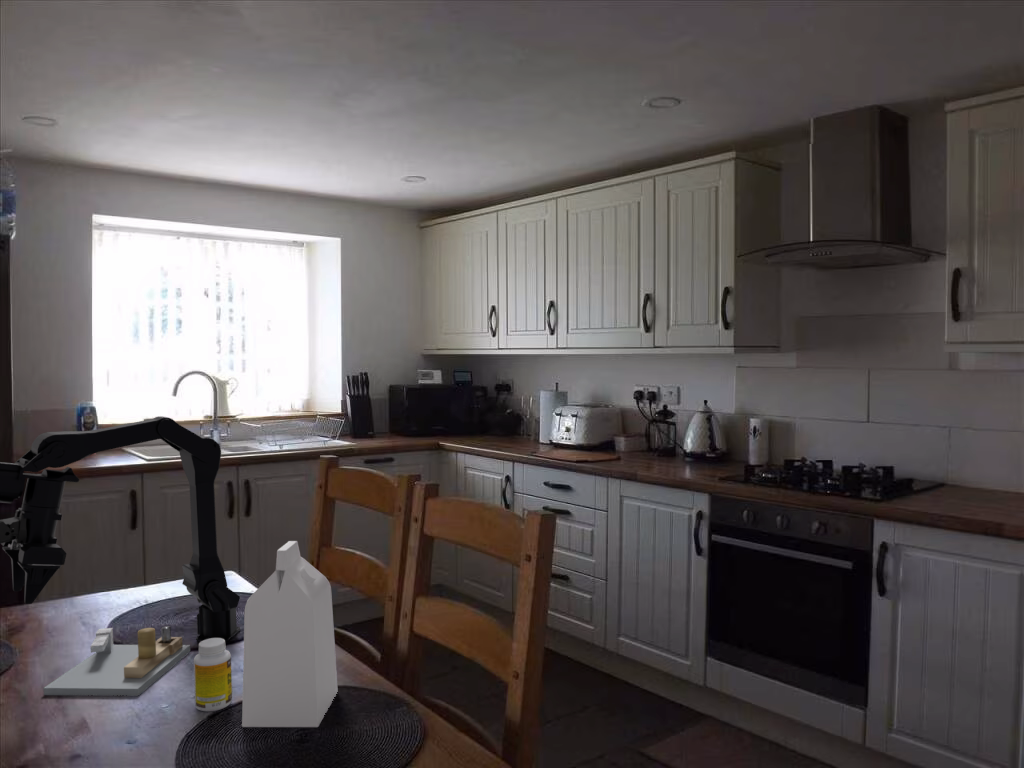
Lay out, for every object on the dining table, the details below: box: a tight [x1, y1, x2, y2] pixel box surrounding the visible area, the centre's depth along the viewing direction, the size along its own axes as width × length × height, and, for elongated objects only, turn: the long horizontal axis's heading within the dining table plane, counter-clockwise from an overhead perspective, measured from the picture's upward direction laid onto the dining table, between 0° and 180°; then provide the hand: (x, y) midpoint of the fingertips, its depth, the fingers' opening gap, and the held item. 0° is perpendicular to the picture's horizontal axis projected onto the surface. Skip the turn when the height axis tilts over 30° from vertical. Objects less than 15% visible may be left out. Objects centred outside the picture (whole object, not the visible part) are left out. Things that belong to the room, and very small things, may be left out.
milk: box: [241, 540, 339, 728], centre depth 125 cm, size 12×12×26 cm
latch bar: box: [124, 627, 183, 678], centre depth 142 cm, size 14×4×6 cm, turn 177°
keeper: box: [90, 627, 114, 654], centre depth 145 cm, size 2×8×4 cm, turn 17°
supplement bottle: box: [193, 638, 233, 712], centre depth 127 cm, size 6×6×10 cm
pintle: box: [160, 625, 172, 643], centre depth 147 cm, size 2×2×4 cm
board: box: [43, 644, 191, 697], centre depth 141 cm, size 16×19×1 cm
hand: (22, 597), depth 136 cm, fingers open, 9 cm apart
